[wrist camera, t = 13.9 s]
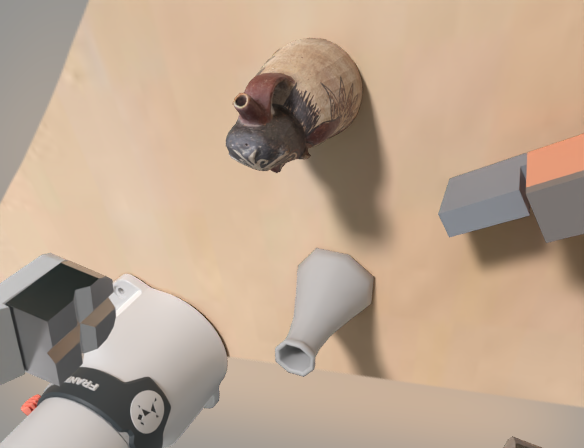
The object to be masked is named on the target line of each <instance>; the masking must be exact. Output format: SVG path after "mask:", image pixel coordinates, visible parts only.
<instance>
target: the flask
mask: <svg viewBox="0 0 584 448" xmlns="http://www.w3.org/2000/svg"><path fill="white" fill-rule="evenodd" d="M373 279H374V277H373V276H372V275H371V274H370V273H369V272H368V271H367V270H365V269H364V268H363V267H362V266H361V265H360V264H359V263H357V262H356V261H355V260H354V259H353V258H352V257H351V256H350V255H348V254H343V253H338V252H333V251H329V250H324V249H319V248H316V249H315V250H314V251H313V252H312V253H311V254H310V255H309V256H308V257H307V258H305V259H304V260H303V261H302V262H301V263H300V264H299V265H298V271H297V287H296V299H295V309H294V317H293V321H292V324H291V327H290V331H289V333H288V335H287V337H286V339H285V340H284V341H283V342H281V343H280V344H279V345H278V346H277V347H276V348H275V357H276V362H277V363H278V364H279V365H280V366H282V367H283V368H284V369H285V370H287V372H289V373H293V374H296V375H299V376H303V377H304V376H306V375H307V374H308V373H310V372H311V371H313V370H314V368H315V357H316V355H317V353H318V351H319V349H320V348H321V347H322V346H323V344H324V343H325V342H326V341H327V340H328V338H329V337H330V336H331V335H332V334H333V333H335V332H336V331H337V330H338V329H339V328H341V327H342V326H343V325H344V324H345V323H347V322H348V321H349V320H351V319H352V318H353V317H354V316H356V315H357V314H358V313H360V312H361V311H362V310H364V309H365V308H366V307H367V306H369V305H370V304H371V303H372V291H373Z"/></svg>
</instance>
